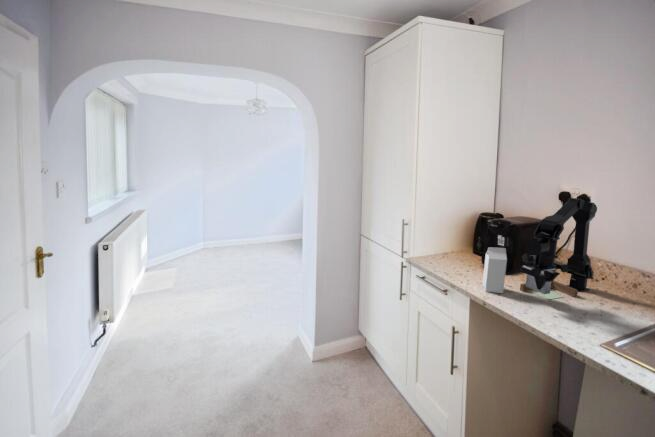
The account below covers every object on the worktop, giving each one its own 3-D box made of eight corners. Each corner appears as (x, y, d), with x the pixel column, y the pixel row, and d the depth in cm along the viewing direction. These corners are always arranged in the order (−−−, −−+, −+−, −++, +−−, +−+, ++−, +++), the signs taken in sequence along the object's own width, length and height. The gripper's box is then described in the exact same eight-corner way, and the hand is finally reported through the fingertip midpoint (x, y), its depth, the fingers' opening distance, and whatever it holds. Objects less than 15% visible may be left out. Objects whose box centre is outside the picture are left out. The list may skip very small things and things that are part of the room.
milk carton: (503, 293, 160) (508, 250, 156) (485, 291, 161) (489, 249, 157) (499, 287, 166) (503, 246, 163) (482, 285, 168) (486, 245, 164)
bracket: (525, 286, 155) (526, 274, 154) (536, 284, 157) (538, 273, 156) (544, 294, 147) (545, 282, 146) (555, 292, 149) (557, 280, 148)
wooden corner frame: (550, 285, 169) (551, 279, 168) (577, 296, 157) (578, 290, 157) (519, 290, 163) (520, 283, 163) (544, 302, 152) (545, 295, 151)
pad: (545, 289, 165) (546, 288, 165) (564, 297, 157) (564, 296, 157) (530, 291, 162) (530, 291, 162) (548, 299, 154) (548, 299, 154)
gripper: (547, 244, 157) (542, 279, 160) (512, 247, 151) (507, 284, 154) (572, 251, 146) (566, 289, 150) (535, 255, 140) (530, 294, 144)
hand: (541, 288), depth 149 cm, fingers closed on bracket, 3 cm apart
